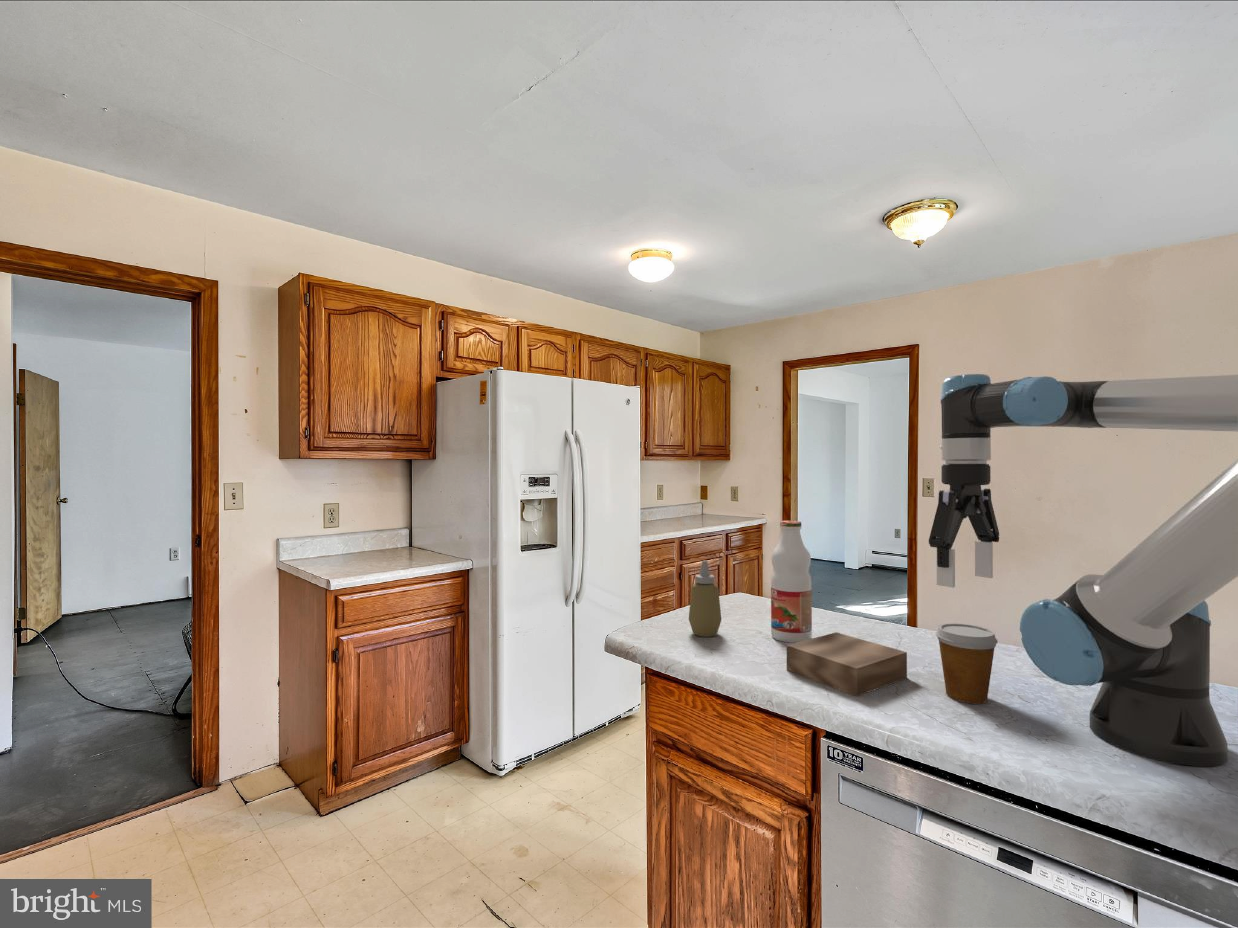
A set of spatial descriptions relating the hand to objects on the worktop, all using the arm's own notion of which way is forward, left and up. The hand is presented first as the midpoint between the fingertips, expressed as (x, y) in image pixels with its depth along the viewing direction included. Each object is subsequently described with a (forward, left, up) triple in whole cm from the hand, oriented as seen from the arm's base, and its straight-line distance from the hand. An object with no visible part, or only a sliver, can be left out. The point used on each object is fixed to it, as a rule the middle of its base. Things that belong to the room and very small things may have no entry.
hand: (965, 581), depth 103 cm
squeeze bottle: (+55, +13, -21) cm, 60 cm away
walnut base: (+19, +8, -21) cm, 29 cm away
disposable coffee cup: (0, 0, -21) cm, 21 cm away
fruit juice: (+41, -2, -21) cm, 46 cm away
